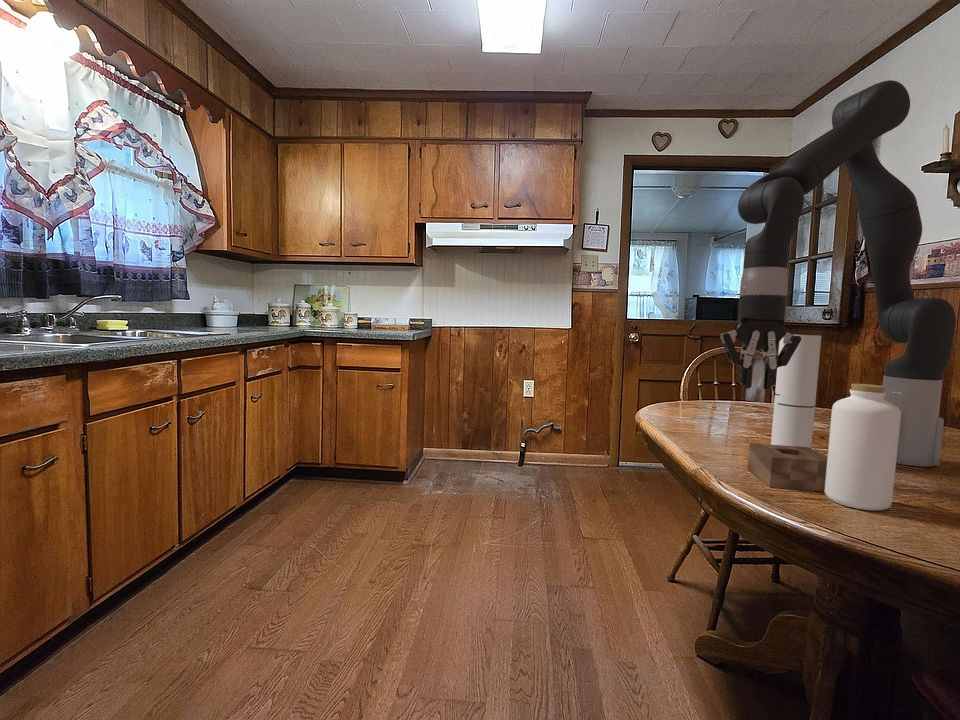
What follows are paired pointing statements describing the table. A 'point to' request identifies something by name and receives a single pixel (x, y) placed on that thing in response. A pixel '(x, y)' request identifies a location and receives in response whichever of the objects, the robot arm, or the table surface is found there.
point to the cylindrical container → (796, 394)
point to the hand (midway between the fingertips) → (755, 388)
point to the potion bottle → (863, 449)
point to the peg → (757, 379)
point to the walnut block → (788, 466)
